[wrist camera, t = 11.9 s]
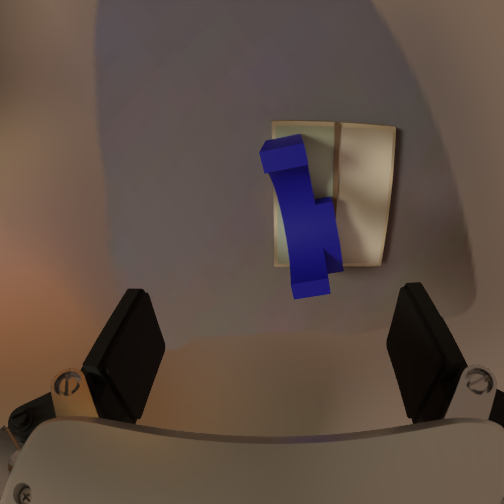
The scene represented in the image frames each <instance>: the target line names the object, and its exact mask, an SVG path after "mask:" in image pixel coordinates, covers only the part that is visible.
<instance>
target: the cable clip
mask: <svg viewBox="0 0 504 504" xmlns="http://www.w3.org/2000/svg"><path fill="white" fill-rule="evenodd" d="M259 153H260V157H261V161H262V165H263V169H264V173H268V174H269V175H270V177H271V180H272V182H273V185H274V188H275V191H276V195H277V198H278V202H279V206H280V210H281V214H282V219H283V224H284V229H285V235H286V240H287V247H288V254H289V263H290V274H291V288H292V292H293V297H294V299H300V298H306V297H313V296H319V295H325V294H330V286H329V279H328V274H330V273H336V272H341V271H343V262H342V254H341V246H340V241H339V235H338V230H337V224H336V219H335V213H334V207H333V202H332V199H331V197H325V198H319V199H314V195H313V190H312V184H311V179H310V173H309V168H308V160H307V155H306V150H305V146H304V142H303V139H302V137H301V134H296V135H291V136H286V137H281V138H276V139H271V140H267V141H265V143H264V145H263V146H262V148H261V150H260V152H259Z"/></svg>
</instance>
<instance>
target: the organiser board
mask: <svg viewBox="0 0 504 504" xmlns="http://www.w3.org/2000/svg"><path fill="white" fill-rule="evenodd" d="M296 134H301V137H302V139H303V142H304V146H305V150H306V155H307V160H308V168H309V173H310V179H311V184H312V190H313V195H314V199H319V198H325V197H331V199H332V202H333V207H334V213H335V219H336V224H337V230H338V235H339V241H340V246H341V254H342V262H343V266H381V261H382V255H383V249H384V243H385V237H386V230H387V223H388V216H389V208H390V199H391V190H392V180H393V169H394V156H395V139H396V127H394V126H389V125H379V124H367V123H354V122H337V121H309V120H272V139H276V138H281V137H286V136H291V135H296ZM273 192H274V267H290V263H289V254H288V247H287V240H286V235H285V229H284V224H283V219H282V214H281V210H280V206H279V202H278V198H277V195H276V191H275V188H274V185H273Z"/></svg>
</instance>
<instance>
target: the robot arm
mask: <svg viewBox="0 0 504 504" xmlns="http://www.w3.org/2000/svg"><path fill="white" fill-rule="evenodd" d="M387 350H388V353H389V356H390V359H391V362H392V366H393V368H394V372H395V375H396V379H397V382H398V385H399V389H400V392H401V396H402V399H403V403H404V406H405V410H406V414H407V417H408V418H412V422H413V424H411V425H405V426H399V427H393V428H385V429H379V430H371V431H363V432H353V433H343V434H331V435H317V436H316V435H315V436H289V437H257V436H232V435H216V434H203V433H194V432H184V431H176V430H168V429H162V428H155V427H149V426H142V425H136V424H135V423H136V421H137V419H140V418H141V416H142V414H143V411H144V408H145V405H146V402H147V399H148V396H149V393H150V390H151V388H152V385H153V382H154V379H155V376H156V374H157V371H158V368H159V365H160V363H161V360H162V357H163V355H164V352H165V342H164V339H163V336H162V333H161V330H160V327H159V325H158V321H157V318H156V315H155V312H154V309H153V306H152V303H151V300H150V296H149V294H148V293H145V291H144V290H143V289H128V290H127V291H126V293H125V294H124V296H123V297H122V299H121V301H120V302H119V304H118V305H117V307H116V309H115V310H114V312H113V313H112V315H111V317H110V318H109V320H108V322H107V324H106V325H105V327H104V328H103V330H102V332H101V333H100V335H99V337H98V338H97V340H96V342H95V344H94V345H93V347H92V349H91V351H90V352H89V354H88V356H87V358H86V359H85V361H84V363H83V367H82V368H81V370H79V369H75V368H69V369H65V370H63V371H61V372H59V373H58V374H57V375H56V376H55V377H54V379H53V380H52V383H51V392H49V393H47V394H45V395H43V396H41V397H39V398H37V399H35V400H32V401H30V402H28V403H26V404H24V405H22V406H20V407H18V408H16V409H15V410H14V411H13V412H12V413H11V415H10V417H9V421H8V427H5V426H3V427H2V428H1V429H0V504H504V392H502V391H500V390H498V389H497V381H496V377H495V376H494V374H493V373H492V372H491V371H490V370H489V369H488V368H486V367H484V366H481V365H471V366H467V363H466V361H465V359H464V357H463V355H462V353H461V351H460V349H459V347H458V345H457V344H456V342H455V340H454V338H453V336H452V334H451V333H450V331H449V328H448V327H447V325H446V323H445V321H444V319H443V318H442V317H441V316H440V314H439V312H438V311H437V309H436V307H435V305H434V304H433V302H432V300H431V298H430V297H429V295H428V293H427V292H426V290H425V288H424V287H423V285H422V284H421V283H420V282H416V283H406V284H405V285H404V287H402V288H401V289H400V291H399V296H398V300H397V304H396V308H395V312H394V316H393V319H392V323H391V327H390V330H389V334H388V337H387Z"/></svg>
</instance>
